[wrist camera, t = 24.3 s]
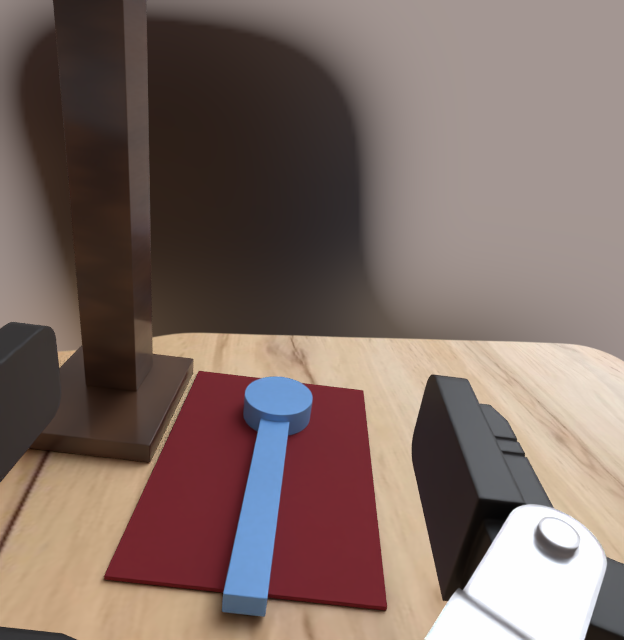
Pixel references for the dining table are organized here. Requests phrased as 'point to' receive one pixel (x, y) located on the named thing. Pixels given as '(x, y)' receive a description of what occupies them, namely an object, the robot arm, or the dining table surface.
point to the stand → (110, 240)
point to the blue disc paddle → (263, 489)
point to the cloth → (228, 492)
